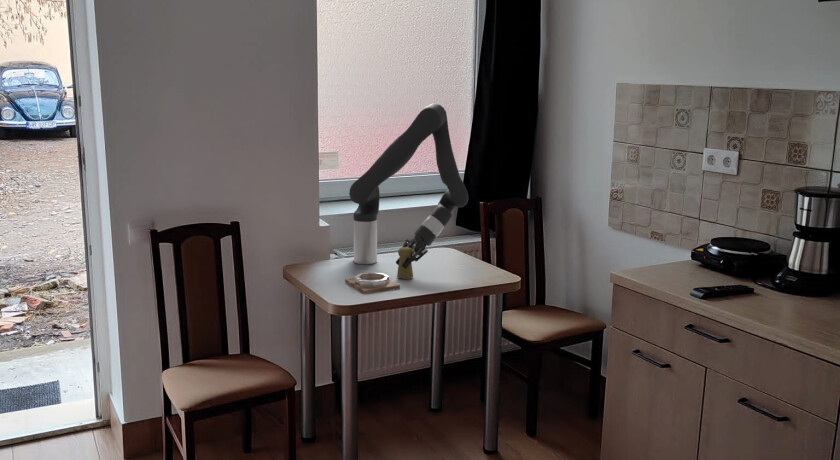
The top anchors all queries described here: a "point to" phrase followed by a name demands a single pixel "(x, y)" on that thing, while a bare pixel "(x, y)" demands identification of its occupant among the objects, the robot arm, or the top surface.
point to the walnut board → (365, 289)
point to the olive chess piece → (402, 272)
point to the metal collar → (369, 283)
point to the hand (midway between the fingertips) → (400, 265)
